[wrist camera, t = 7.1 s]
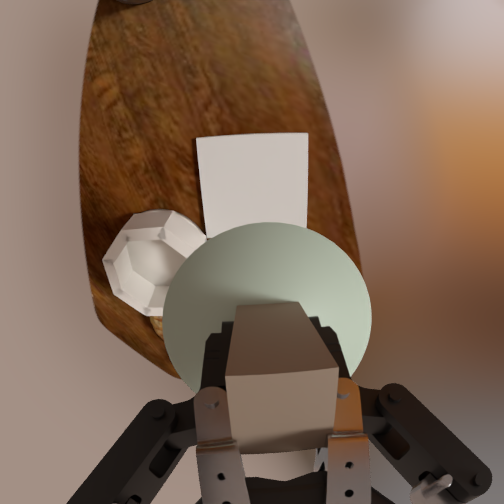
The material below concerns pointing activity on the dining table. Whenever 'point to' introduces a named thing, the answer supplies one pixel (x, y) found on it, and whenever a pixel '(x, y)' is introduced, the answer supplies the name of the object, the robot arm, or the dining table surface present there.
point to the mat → (253, 179)
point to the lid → (270, 329)
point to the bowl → (150, 257)
